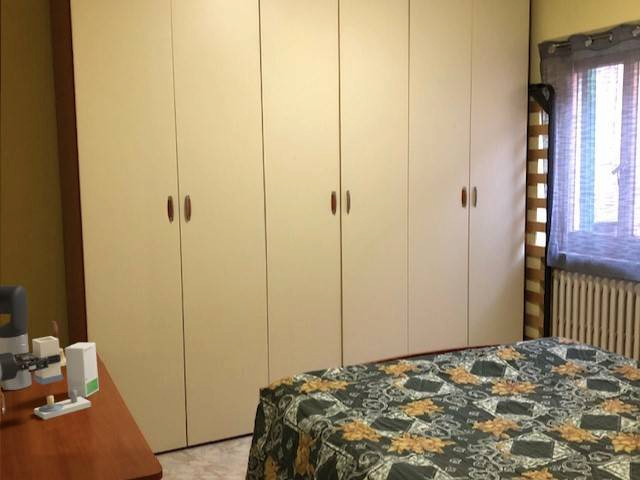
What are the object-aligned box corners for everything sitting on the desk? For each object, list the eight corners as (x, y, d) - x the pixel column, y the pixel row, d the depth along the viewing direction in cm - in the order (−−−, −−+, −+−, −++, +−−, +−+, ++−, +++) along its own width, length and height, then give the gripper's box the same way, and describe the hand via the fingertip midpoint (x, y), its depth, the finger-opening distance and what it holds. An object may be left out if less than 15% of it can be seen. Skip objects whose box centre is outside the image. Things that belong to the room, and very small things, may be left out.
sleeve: (42, 384, 201) (39, 343, 200) (33, 380, 206) (30, 339, 204) (62, 379, 206) (60, 339, 204) (54, 375, 210) (51, 335, 209)
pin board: (44, 419, 202) (43, 402, 202) (34, 413, 207) (33, 397, 207) (91, 406, 212) (89, 390, 211) (80, 401, 217) (79, 385, 216)
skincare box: (86, 398, 219) (82, 349, 217) (66, 397, 221) (63, 348, 219) (99, 389, 227) (96, 341, 226) (80, 388, 229) (77, 341, 227)
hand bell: (50, 369, 252) (47, 324, 250) (41, 364, 258) (38, 321, 256) (73, 364, 257) (70, 320, 255) (64, 359, 263) (60, 317, 261)
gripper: (4, 360, 190) (65, 347, 201) (-16, 351, 200) (44, 339, 212) (6, 387, 190) (67, 373, 202) (-14, 377, 201) (46, 364, 212)
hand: (55, 356), depth 207 cm, fingers closed on sleeve, 5 cm apart
